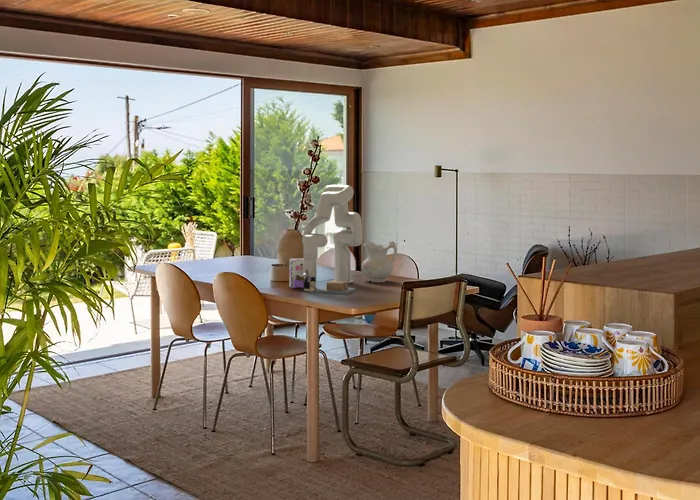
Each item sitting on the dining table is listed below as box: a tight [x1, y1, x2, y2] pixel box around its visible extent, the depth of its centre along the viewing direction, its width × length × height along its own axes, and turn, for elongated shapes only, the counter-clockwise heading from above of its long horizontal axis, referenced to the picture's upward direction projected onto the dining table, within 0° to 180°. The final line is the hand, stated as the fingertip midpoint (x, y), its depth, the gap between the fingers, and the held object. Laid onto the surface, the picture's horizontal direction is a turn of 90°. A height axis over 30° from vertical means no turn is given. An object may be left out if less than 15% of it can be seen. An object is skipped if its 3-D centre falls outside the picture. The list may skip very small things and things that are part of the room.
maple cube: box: [303, 280, 317, 292], centre depth 467 cm, size 5×5×5 cm
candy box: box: [288, 258, 311, 289], centre depth 479 cm, size 14×6×16 cm, turn 105°
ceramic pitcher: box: [361, 241, 398, 283], centre depth 509 cm, size 22×20×25 cm
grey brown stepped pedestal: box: [317, 280, 356, 295], centre depth 462 cm, size 16×16×6 cm
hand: (309, 287), depth 467 cm, fingers open, 9 cm apart
